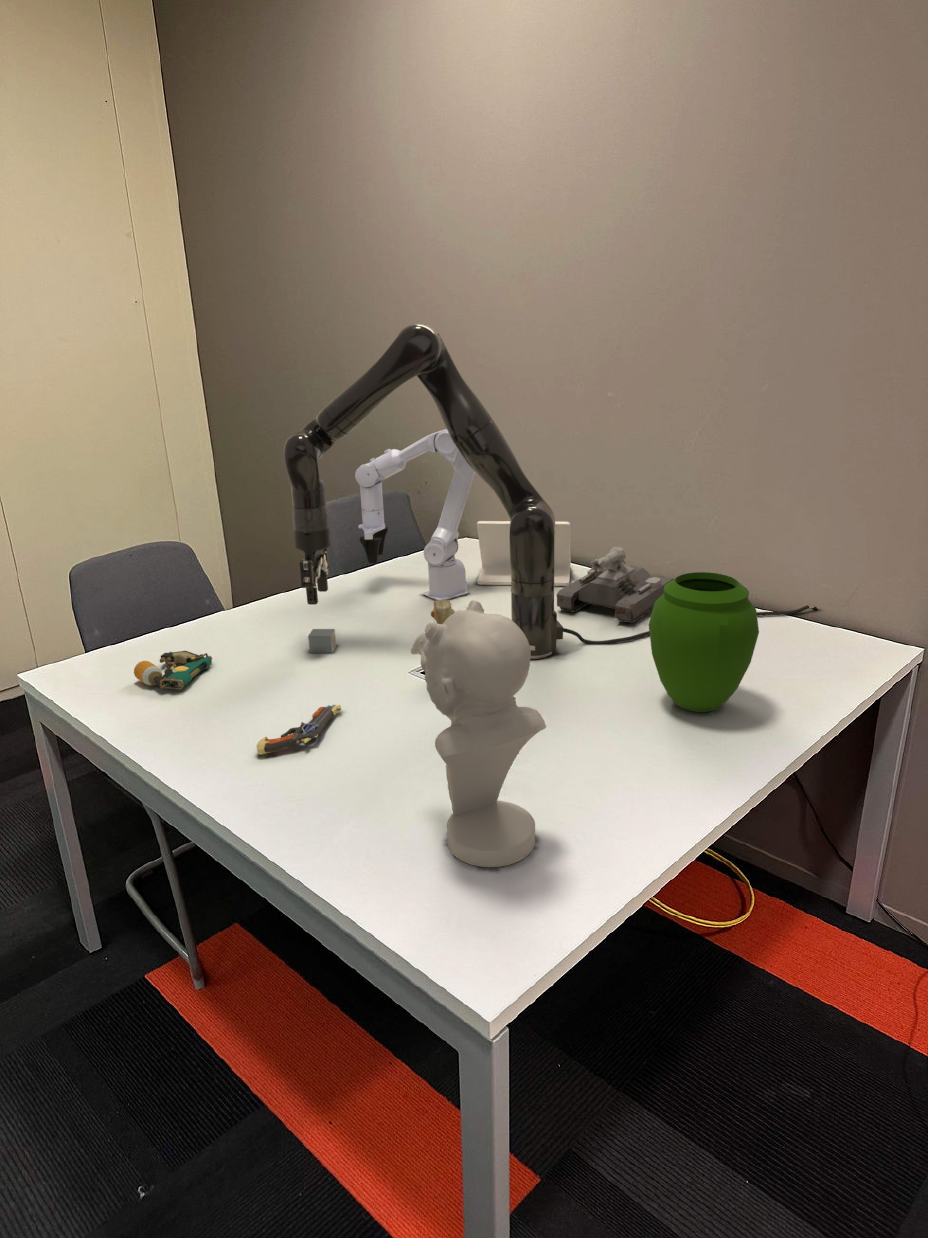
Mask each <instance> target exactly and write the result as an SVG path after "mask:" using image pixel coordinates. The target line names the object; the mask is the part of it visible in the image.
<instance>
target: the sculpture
mask: <svg viewBox="0 0 928 1238" xmlns="http://www.w3.org/2000/svg"><path fill="white" fill-rule="evenodd" d="M455 612H456V611H455V609H453V608H452V602H451V601H450V599H447V600H444V601H437V600H433V610H431V612H430V617H431V618H432V619H433V620H434V621H435V622H436V623H435V624H443V623H444V622H445V620H446V619H447V618H448V617H450V616H451V615H452V614H453V613H455Z"/></svg>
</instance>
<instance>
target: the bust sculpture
mask: <svg viewBox="0 0 928 1238" xmlns="http://www.w3.org/2000/svg"><path fill="white" fill-rule="evenodd" d="M454 612H455V613H453V614H452V615H451V616H450V617H448V618H447V619H446V620H445V622H444V623H443V624H436V623H435V622H430V623H428V624H427V625H426V626H425V628H424V632H423V633H421V634H419V635H418V636H417V637H416V638H415V640H414V642H413V645H412V647H411V649H410V654H412V655H420V667H421V669H422V670H423V672H424V681H425V682H426V690H427V693H428V696H429V698H430V701H431V702H432V704H434V706H435V708H436V710H438V711H439V712H440V713H441V714H442V716H446V717H447V718H448V719H449V720H450V726H448V727H446V728H445V729H443V730H442V731H441V732H440V733H439V734H438V735H436V738H435V741H434V748H435V749H436V752H437V753H438V755H439V757H440V758H441V760H442V761H443V762H444V763H445V771H446V781H447V790H448V796H449V800H450V803H451V810H452V813H451V814H450V815H449V817H448V819H447V822H446V844H447V847H448V849H449V851H450V852H451V854H452V855H453V856H454V857H456V858H457V859H459V860H460V861H462V862H463V863H466V864H469V865H471V866H476V867H483V868H498V867H505V866H509V865H512V864H517V862H520V861H521V860H523V859H525V858H527V856H528V855H530V854H531V852H532V851H533V849H535V848H534V847H535V845H536V822H535V821H536V820H535V819H534V817H533V816H532V814H531V813H530V812H529V811H528V810H526V809H525V808H524V807H522V806H520V805H517V804H515V803H513V802H509V801H504V800H499V796H500V793H501V790H502V788H503V785H504V783H505V780H506V778H507V776H508V773H509V771H510V769H511V768H512V765H513V763H514V761H515V760H516V759H517V756H518V755H519V753H520V752H521V750H522V749H523V748H524V747H525V745H526V744H527V743H528V742H529V741H530V740H531V739H532V738H533V737H535V735H537V734H538V733H539V732H541V731H544V730H545V729H546V728H547V725H546V723H545V720H544V718H543V717H542V714H541V713H540V712H539V711H538V710H537V709H535V708H533V707H530V706H518V705H517V701H516V699H517V698H516V696H515V695H516V694H517V693H519V691H521V689H522V688H523V686H524V684H525V683H526V680H527V678H528V675H529V669H530V666H531V659H530V656H531V655H530V653H531V652H530V646H529V643H528V640H527V638H526V636H525V634H524V633H523V632H522V630H521V629H520V628H519V627H518V626H517V625H516V624H515V623H514V622H513V621H512V620H511V618H508V617H507V616H504V615H503V614H502V615H501V614H496V613H485V609H484V607H483V605H482V603H481V602H480V601H478V600H473V599H472V600H470V601H469V603H468V605H467V607H466V609H460V610H457V611H454Z"/></svg>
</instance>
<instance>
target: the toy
mask: <svg viewBox="0 0 928 1238" xmlns="http://www.w3.org/2000/svg"><path fill="white" fill-rule="evenodd" d="M626 557H627V556H626V551H625V549H624V548H622V547H621V546H614V547H612V548H611V549H610V550H609V552H608V553H607V554H605V555H604V556H601V557H599V558H598V559H597V557H596V558H594V559H593V560H592V561H590V562H589V563H590V564H591V565H592V567H591V568H590V569H589V570H587V573H586V575H584V576H582V577H580V578H578V579H577V580H575V581H573V582H570V583H569V585H567V586H563V587H562V588H560V589H559V590H558V591H557V592H556V607H558V608H559V609H560V610H562V611H566V612H572V613H575V612H577V611H579V610H581V609H582V608H585V607H586V606H588V605H592V606H598V607H602V608H603V607H604V608H609V609H613V610H614V618H615V619H617V620H618V621H621V622H626V623H631V624H634V623H635V622H637V621H638V620H640V619H641V618H642V617H644V616H645V615H647V614H648V613H650V612H652V610H653V606H654V603H655V602H656V601H657V599H659V598H660V597H661V596H662V595H663V594H664V586H665V585H666V584H667V583H668V582H670V581H672V580H673V579H675V578H673V577H668V576H663V575H656V576H655V577H654V576H651V574H650V573H649V572H648V571H647V570H646V568H644V567H641V566H635V565H629V564H628V563H627V562H626V561H625V559H626Z"/></svg>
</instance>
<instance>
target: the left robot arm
mask: <svg viewBox="0 0 928 1238" xmlns="http://www.w3.org/2000/svg"><path fill="white" fill-rule="evenodd" d="M383 452H384V453H383V454H381V455H379V456H378V457H373V458H372V457H371V458H370V459H369V461H370V462H367V463H364V464H361V465H359V467H358V468H357V469H356V470H355V474H354V477H355V481H356V483H357V484H358V485H359V491H360V493H359V494H360V504H361V505H360V506H361V519H362V523H361V524H358V526H357V527H358V529H360V530H362V532H363V536H359V543H360V544H361V545H362V547H363V550H364V552H365V555H366V558H367V562H368V564H377V563H378V561H379V556H383V553H384V549H385V543H386V542H385V541H386V537H387V533H388V531H389V527H388V526H386V524H385V512H384V510H385V509H384V496H383V482H384V481H385V480H387V479H388V478H390V477H392V476H394V475H396V474H398V473H400V472H401V471H404V470H405V469H406V466H407V463H408V462H409V461H411V460H413V459H415V458H417V457H419V456H421V455H423V454H425V453H428V452H431V453H434V454H436V453H438V454H440V455H441V456H442V457H443V458H444V459H445V460H446V461H448V463H450V465H451V467H452V468H453V475H452V478H451V481H450V485H449V487H448V492H447V494H446V497H445V500H444V504H443V508H442V511H441V515H440V518H439V520H438V523H437V527H436V529H435V530H434V532H433V534H432V535H431V537H430V541H429V542H428V543H427V544H426V545H425V546H424V548H423V557H424V560H425V561H426V562H427V570H428V571H427V573H428V574H427V575H428V590H427V591H423V592H422V595H423V596H426V597H428V598H430V599H433V600H434V601H445V600H450V599H454V598H457V597H461V596H465V595H468V594H469V591H468V590H467V578H466V577H467V575H466V574H467V572H466V571H467V570H466V567H465V565H464V563H463V562H462V561H461V559H458V558H456V557H455V555H456V554H457V553H458V550H459V541H458V540H459V536H460V532H459V531H458V529H459V526H460V523H461V521H462V517H463V514H464V511H465V507H466V503H467V502H468V497H469V495H470V492H471V488H472V485H473V482H474V478H475V476H476V474H477V473H476V472H475V471H474V470H473V469H472V468H471V467H470V466H469V464H468V463H467V462H466V461H465V459H464V458H463V456H462V455H461V453H460V452H459V450H458V448H457V447H456V445H455V444H454V442H453V441H452V439H451V437H450V435H449V433H448V431H447V429H446V428H445V429H442V430H438V431H436V432H432V433H430V434H428V435H426V436H424V437H422V438H420V439H419V440H417V441H415V442H414V443H412V444H410V445H409V446H407V447H405V448H404V449H402V450H399V449H397V448H392V449H391V448H388V449H385V450H384V451H383Z"/></svg>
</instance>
